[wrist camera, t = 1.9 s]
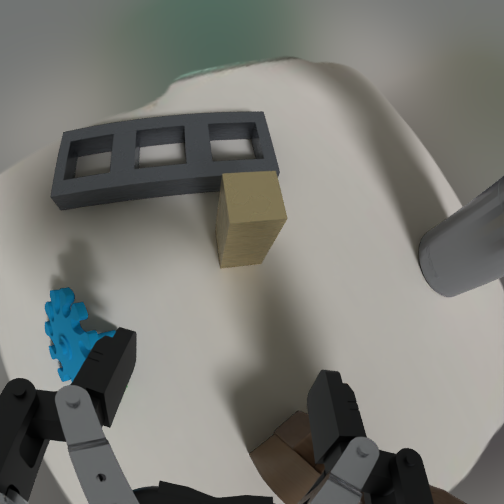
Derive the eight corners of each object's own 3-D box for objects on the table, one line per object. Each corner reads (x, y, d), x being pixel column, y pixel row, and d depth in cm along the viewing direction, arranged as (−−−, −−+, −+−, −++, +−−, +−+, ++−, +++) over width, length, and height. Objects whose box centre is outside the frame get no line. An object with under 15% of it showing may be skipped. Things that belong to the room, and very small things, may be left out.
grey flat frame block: (259, 128, 37) (263, 111, 34) (273, 187, 34) (279, 172, 31) (70, 147, 32) (63, 132, 29) (60, 210, 29) (50, 197, 26)
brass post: (254, 226, 32) (275, 170, 23) (260, 263, 31) (287, 218, 21) (215, 230, 31) (222, 173, 22) (220, 268, 30) (229, 223, 20)
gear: (31, 303, 24) (64, 272, 19) (80, 296, 29) (127, 266, 24) (66, 413, 22) (112, 423, 17) (112, 396, 27) (170, 396, 22)
